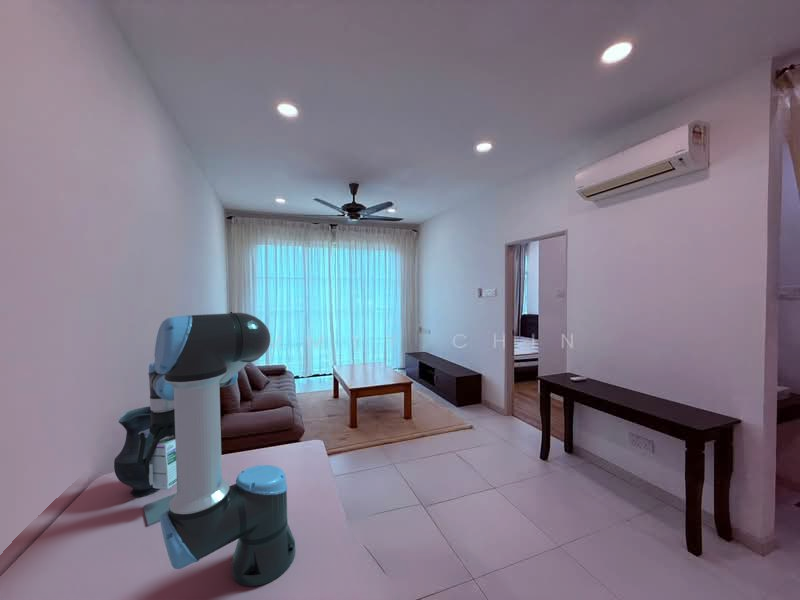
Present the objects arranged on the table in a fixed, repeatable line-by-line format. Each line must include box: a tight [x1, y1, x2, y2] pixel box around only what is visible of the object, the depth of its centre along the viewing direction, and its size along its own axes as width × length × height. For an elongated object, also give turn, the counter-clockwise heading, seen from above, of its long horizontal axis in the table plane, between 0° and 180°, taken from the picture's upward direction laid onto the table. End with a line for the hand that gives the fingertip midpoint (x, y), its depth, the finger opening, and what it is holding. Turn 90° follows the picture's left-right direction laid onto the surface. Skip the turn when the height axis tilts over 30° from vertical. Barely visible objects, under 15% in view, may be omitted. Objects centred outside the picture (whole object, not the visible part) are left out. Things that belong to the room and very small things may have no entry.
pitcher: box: [113, 405, 161, 498], centre depth 115 cm, size 17×21×30 cm
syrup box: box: [151, 435, 177, 490], centre depth 103 cm, size 6×6×14 cm
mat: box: [142, 493, 176, 527], centre depth 103 cm, size 12×12×1 cm
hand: (167, 477), depth 103 cm, fingers closed on syrup box, 8 cm apart
